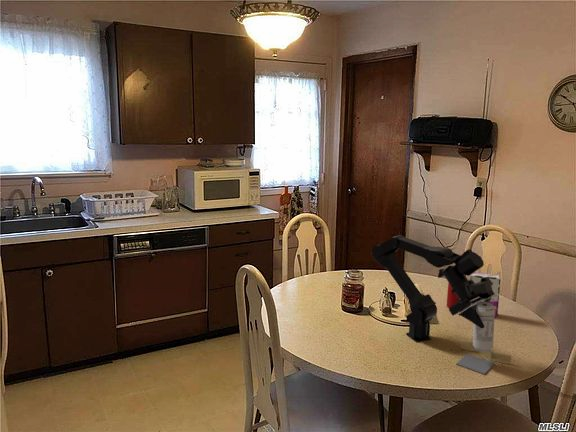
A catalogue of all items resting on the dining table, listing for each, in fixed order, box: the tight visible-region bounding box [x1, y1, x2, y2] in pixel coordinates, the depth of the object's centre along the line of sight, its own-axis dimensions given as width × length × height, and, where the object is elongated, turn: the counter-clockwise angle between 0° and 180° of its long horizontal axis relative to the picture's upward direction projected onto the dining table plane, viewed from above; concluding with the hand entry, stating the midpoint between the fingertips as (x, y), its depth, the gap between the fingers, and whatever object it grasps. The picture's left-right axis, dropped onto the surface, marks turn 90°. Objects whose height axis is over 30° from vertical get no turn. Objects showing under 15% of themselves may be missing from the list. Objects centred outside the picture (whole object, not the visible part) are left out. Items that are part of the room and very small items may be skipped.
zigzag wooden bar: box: [460, 339, 512, 366], centre depth 158 cm, size 16×4×3 cm, turn 48°
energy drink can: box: [472, 301, 496, 352], centre depth 151 cm, size 6×6×15 cm
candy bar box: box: [469, 272, 502, 318], centre depth 191 cm, size 11×5×16 cm, turn 68°
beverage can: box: [446, 282, 460, 309], centre depth 196 cm, size 7×7×12 cm
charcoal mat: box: [455, 353, 496, 376], centre depth 152 cm, size 9×9×1 cm
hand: (488, 325), depth 150 cm, fingers closed on energy drink can, 6 cm apart
